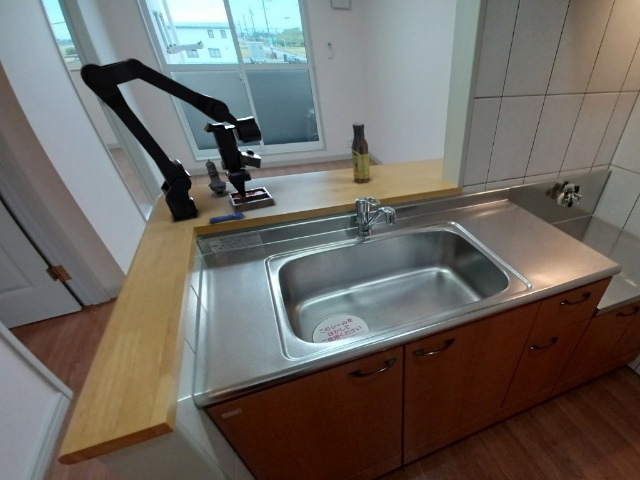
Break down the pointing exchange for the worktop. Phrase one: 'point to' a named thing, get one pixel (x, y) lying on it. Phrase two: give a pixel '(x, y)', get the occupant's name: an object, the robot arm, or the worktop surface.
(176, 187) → the robot arm
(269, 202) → the tray
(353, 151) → the sauce bottle
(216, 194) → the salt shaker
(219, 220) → the blue flashlight
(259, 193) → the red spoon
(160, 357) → the worktop surface
